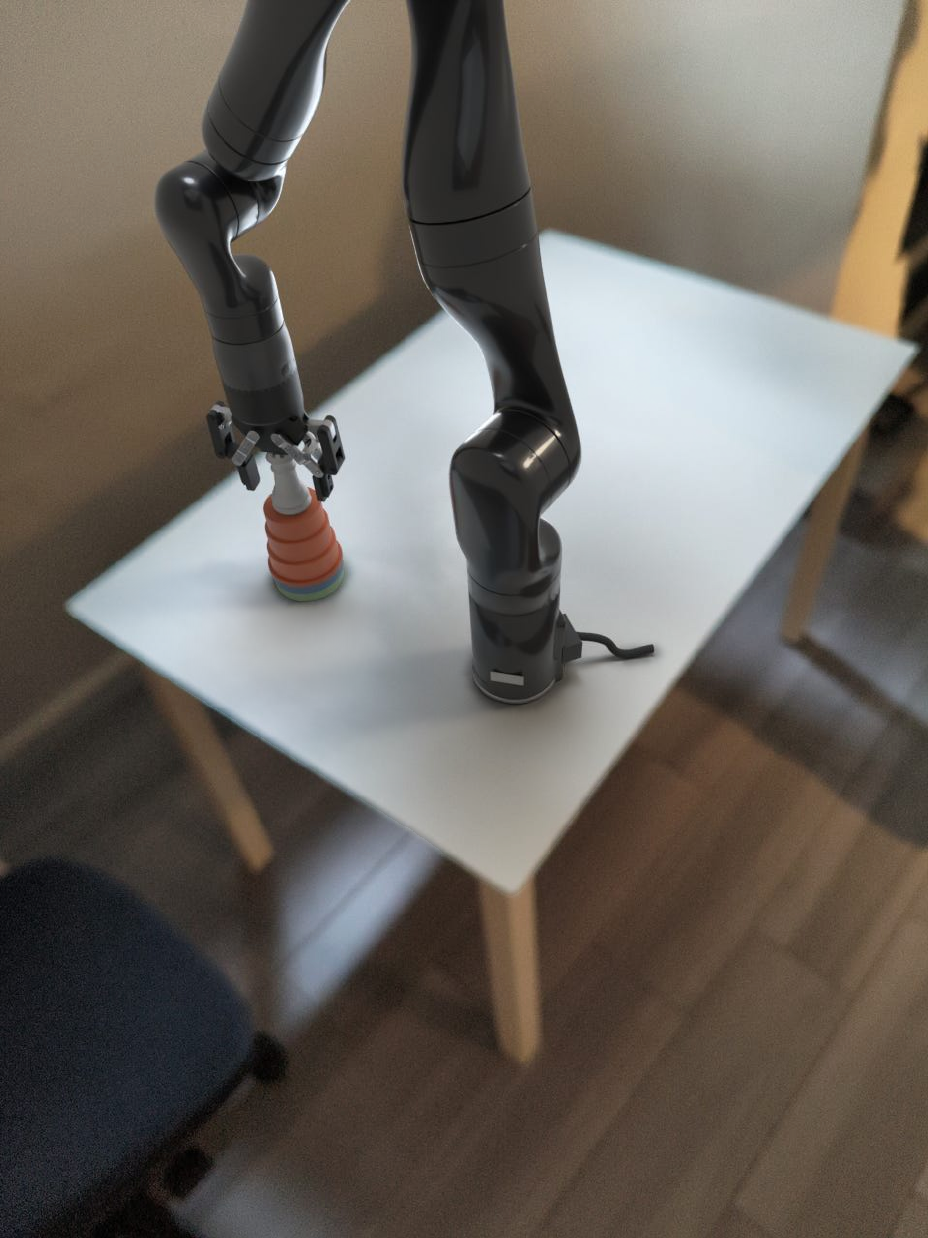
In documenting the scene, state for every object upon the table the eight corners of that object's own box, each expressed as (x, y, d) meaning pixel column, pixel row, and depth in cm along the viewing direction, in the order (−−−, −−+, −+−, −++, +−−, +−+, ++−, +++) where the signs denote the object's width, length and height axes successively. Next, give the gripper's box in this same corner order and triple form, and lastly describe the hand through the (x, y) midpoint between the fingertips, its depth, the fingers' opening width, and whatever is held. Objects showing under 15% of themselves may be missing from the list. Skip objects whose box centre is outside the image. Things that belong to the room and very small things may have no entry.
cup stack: (336, 542, 116) (321, 470, 108) (354, 591, 111) (340, 518, 102) (266, 561, 115) (245, 490, 106) (281, 611, 109) (260, 540, 100)
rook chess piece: (284, 523, 102) (269, 466, 96) (266, 501, 104) (250, 445, 98) (319, 506, 103) (306, 450, 97) (301, 486, 106) (287, 429, 100)
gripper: (338, 352, 91) (359, 478, 103) (208, 337, 94) (244, 462, 106) (310, 396, 86) (336, 523, 99) (175, 379, 89) (216, 504, 102)
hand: (288, 491), depth 102 cm, fingers open, 8 cm apart
